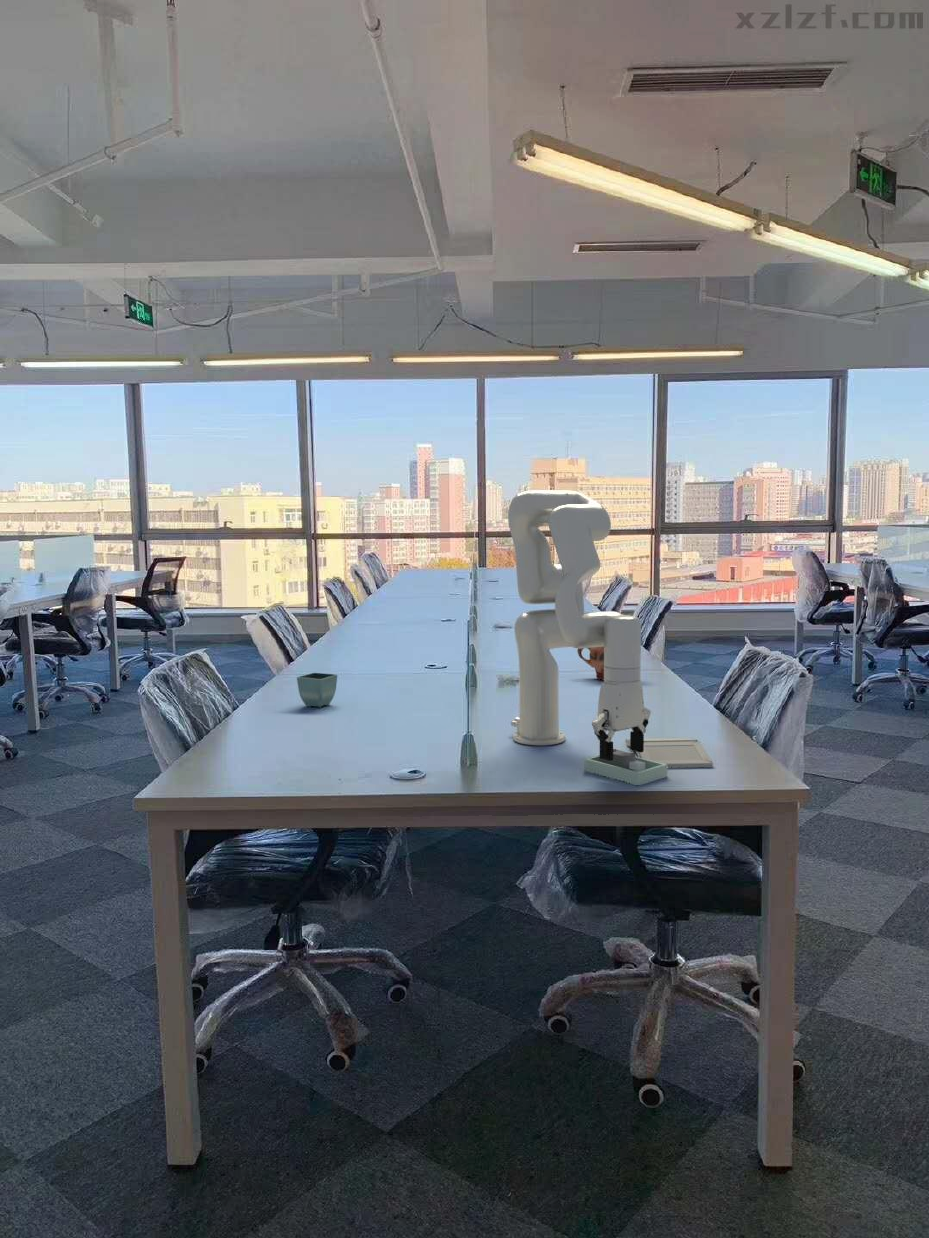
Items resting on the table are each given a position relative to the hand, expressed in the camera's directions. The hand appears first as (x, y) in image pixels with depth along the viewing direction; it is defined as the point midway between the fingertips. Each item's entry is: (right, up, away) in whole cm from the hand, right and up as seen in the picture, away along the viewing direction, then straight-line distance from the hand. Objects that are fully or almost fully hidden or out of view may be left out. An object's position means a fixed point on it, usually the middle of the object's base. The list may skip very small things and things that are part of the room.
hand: (621, 755), depth 186 cm
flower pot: (-76, +3, +74) cm, 106 cm away
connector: (0, -3, 0) cm, 3 cm away
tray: (+1, -4, 0) cm, 4 cm away
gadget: (+13, -3, +15) cm, 20 cm away
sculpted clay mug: (+14, +8, +110) cm, 111 cm away
